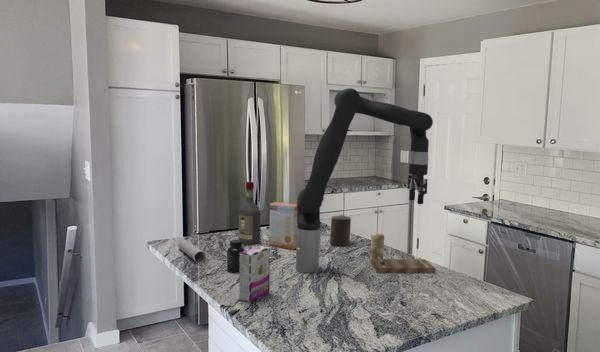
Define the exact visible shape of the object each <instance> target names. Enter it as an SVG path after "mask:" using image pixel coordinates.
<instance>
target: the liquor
mask: <svg viewBox="0 0 600 352" xmlns="http://www.w3.org/2000/svg"><path fill="white" fill-rule="evenodd" d="M254 183H255V182H254V181H245V188H246V191H245V192H246V193H245V194H246V195H245V202H243V204H242V205H241V206H240V207H239V210H238V240H242V245H245V246H253V245H257V244H260V241H261V235H260V234H261V209H260V207H259V205H257V204H256V203H255V200H254V186H255V185H254Z"/></svg>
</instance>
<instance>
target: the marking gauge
mask: <svg viewBox="0 0 600 352" xmlns="http://www.w3.org/2000/svg"><path fill="white" fill-rule="evenodd" d="M370 234H371V235H370V255H369V261H370V262H371V259H378V260H379V262H380V263H381V264H382V265H384V264H385V262H384V261H382V259H384V250H385V249H384V248H385V235H384V234H383V233H370Z"/></svg>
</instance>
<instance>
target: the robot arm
mask: <svg viewBox="0 0 600 352" xmlns="http://www.w3.org/2000/svg"><path fill="white" fill-rule="evenodd" d="M334 96H335V97H334V105H335V108H334V112H333V116H332V119H331V121H330V122H329V125H327V128H325V131H324V132H323V135H322V136H321V138H320V141H319V143H318V145H317V147H316V151H315V154H314V158H313V160H312V161H313V162H312V167H311V172H310V176H309V179H308V181H307V183H306V185H305V188H303V189H302V190H300V192H299V193H298V195H297V204H296V205H297V245H296V249H295V269H296V272H298V273H299V272H301V273H307V274H310V273H317V272H319V270H320V269H319V268H320V243H321V216H320V215H321V213H320V212H321V211H320V210H321V206H322V204H323V200H324V195H325V192H326V188H327V186H328V183H329V182H330V181H329V180H330V178H331V177H332V174H333V171H334V169H335V167H336V165H337V163H338V160H339V158H340V155H341V152H342V149H343V147H344V143H345V141H346V139H347V138H346V137H347V135H348V131H349V128H350V125H351V123H352V120H353V119H354V118H355V115H356V114H360V115H366V116H368V117H372V118H375V119H378V120H382V121H385V122H387V123H392V124H395V125H399V126H406V127H408V128H409V133H410V135H409V136H410V140H411V141H410V149H409V150H410V151H409V158H408V159H409V160H408V174H409V175H408V176H407V177H408V178H407V186H406V187H407V190H408V191H409V193H408V195H409V196H408V199H409V201H415V200H416V191H417V201H416V202H417V204H418V205H424V197H425V195H427V194H428V178H424V176H426V175H428V171H429V170H428V169H429V144H430V140H429V139H428V137H427V131H428V130H430V129H431V128H432V126H433V123H434V122H433V118H432V117H431V115H430V114H428V113H426V112H422V111H417V110H413V109H408V108H405V107H402V106H400V105H396V104H391V103H387V102H381V101H377V100H372V99H368V98H365V97H363V96H360V93H359V91H357V90H356V89H354V88H352V87H349V88H344V89H342V90H339V91H338V92H337V93H336V94H335V95H334Z"/></svg>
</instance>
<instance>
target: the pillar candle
mask: <svg viewBox="0 0 600 352" xmlns="http://www.w3.org/2000/svg"><path fill="white" fill-rule="evenodd" d="M351 222H352V218H351V216H346V215H332V216H331V221H330V237H329V243H330V245H331V246H334V247H339V248H340V247H341V248H343V247H344V248H345V247H349V246H350V245H351V243H350V242H351Z"/></svg>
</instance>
